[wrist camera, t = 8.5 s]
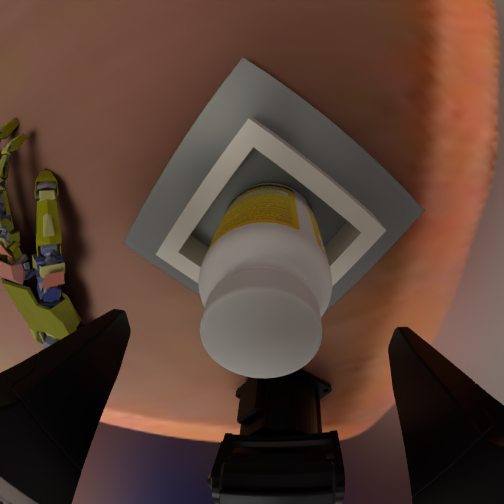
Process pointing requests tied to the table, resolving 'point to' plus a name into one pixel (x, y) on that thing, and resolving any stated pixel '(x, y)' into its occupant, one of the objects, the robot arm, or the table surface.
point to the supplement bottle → (265, 284)
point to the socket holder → (270, 171)
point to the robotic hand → (35, 257)
